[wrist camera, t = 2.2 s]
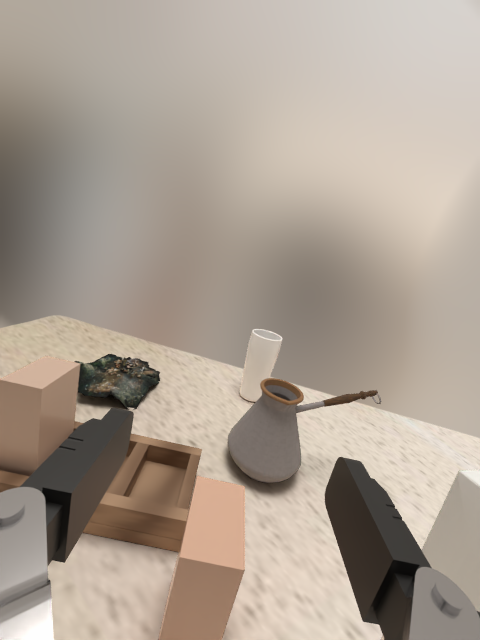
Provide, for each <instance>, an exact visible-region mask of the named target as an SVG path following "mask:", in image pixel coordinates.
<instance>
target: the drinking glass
mask: <svg viewBox="0 0 480 640" xmlns="http://www.w3.org/2000/svg"><path fill="white" fill-rule="evenodd" d="M281 343H282V337H281V336H279V335H278V334H276V333H274V332H271V331H267V330H263V329H254V330H253V331H252V334H251V337H250V341H249V344H248V348H247V353H246V359H245V365H244V371H243V377H242V382H241V386H240V391H239V393H240V395H241V396H242V397H243V398H244V399H246V400H248V401H251V402H256V401H257V400H258V399H259V398H260V397H261V396H262V390H261V387H260V383H261V382H262V381H263V380H264V379H267V378H270V375H271V372H272V370H273V367H274V365H275V362H276V360H277V357H278V354H279V351H280V347H281Z"/></svg>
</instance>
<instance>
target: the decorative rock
mask: <svg viewBox="0 0 480 640" xmlns="http://www.w3.org/2000/svg"><path fill="white" fill-rule="evenodd" d="M75 362H76V363H80V372H79V382H78V385H79V386H78V392H79V393H82V394H83V395H86V396H94V397H97V396H99V397H107V396H108V395H111V394H112V395H113V396H114V399H119V400H120V401H121V402H122V403H123V404H124V406H125V407H126V409H128V408H127V407H131V408H135V409H136V408H137V406H138V404H139V402H140V400H141V398H142V397H143V396H145V395H146V393H147V391H148V390H149V387H151V386H152V385H155V384H157V383H159V381H160V378H159V373H160V372H159V371H155V370H154V369H152V368H149V365H148V362H145V361H141V360H140V359H136V358H135V359H131V358H130V357H128V358H127V359H126V358H121V357H117V356H116V355H113V354H108V355H106V356H104V357H102V358H100V359H98V360H96V361H95V362H92V363H87V364H86V363H82V362H79V361H75Z"/></svg>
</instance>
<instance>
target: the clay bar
mask: <svg viewBox="0 0 480 640" xmlns="http://www.w3.org/2000/svg"><path fill="white" fill-rule="evenodd" d="M244 570H245V486H241V485H237V484H232V483H227V482H223V481H218V480H214V479H209V478H204V477H200V476H197V478H196V482H195V487H194V491H193V495H192V499H191V503H190V507H189V511H188V515H187V519H186V523H185V527H184V531H183V535H182V540H181V544H180V548H179V552H178V556H177V560H176V564H175V568H174V572H173V576H172V580H171V585H170V589H169V594H168V598H167V602H166V607H165V611H164V616H163V620H162V624H161V629H160V633H159V638H158V640H222V637H223V634H224V631H225V628H226V625H227V622H228V619H229V616H230V613H231V610H232V607H233V604H234V601H235V598H236V595H237V591H238V588H239V585H240V582H241V579H242V576H243V573H244Z"/></svg>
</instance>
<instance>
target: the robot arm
mask: <svg viewBox="0 0 480 640" xmlns="http://www.w3.org/2000/svg"><path fill="white" fill-rule="evenodd" d="M133 415H134V414H133V412H132V411H127V410H123V409H118V408H111V409H110V411H109V412H108V413H107V414H106V415H105V416H104V417H103V419H102V420H98V419H94V418H93V419H91V420H89V421H87V422H85V423H84V424H82V425H80V426H78V427H77V428H76V429H75V430H74V431H73V432H72V433H71V434H70V436H69V437H68V439H66V440H65V441H64V442H63V443H62V444H61V445H60V446H59V448H57V449H56V450H55V451H54V452H53V453H52V454H51V455H50V456H49V457H48V458H47V459H46V460H45V461H44V462H43V463H42V464H41V465H40V466H39V467H38V468H37V469H36V470H35V471H34V472H33V474H32V475H31V476H30V477H29V478H28V479H27V480H26V481H25V482H24V483H23V484H22V485H21V486H20V487H17V488H13V489H9V490H6V491H3V492H1V493H0V640H53V621H52V597H51V584H50V580H48V565H49V564H50V562H51V561H52V560H54V561H59V562H64V563H65V561H66V559H67V558H68V556H69V554H70V553H71V551H72V549H73V547H74V546H75V544H76V542H77V541H78V539H79V537H80V535H81V534H82V532H83V530H84V529H85V527H86V525H87V524H88V522H89V520H90V518H91V517H92V515H93V513H94V512H95V510H96V508H97V506H98V505H99V503H100V501H101V500H102V498H103V496H104V495H105V493H106V491H107V489H108V488H109V486H110V484H111V483H112V481H113V479H114V478H115V476H116V474H117V472H118V471H119V469H120V467H121V466H122V464H123V462H124V459H125V457H126V454H127V451H128V447H129V442H130V435H131V429H132V423H133ZM325 505H326V509H327V512H328V515H329V518H330V521H331V524H332V527H333V530H334V534H335V537H336V540H337V543H338V546H339V549H340V552H341V555H342V558H343V561H344V564H345V567H346V571H347V574H348V577H349V580H350V583H351V586H352V589H353V592H354V595H355V598H356V601H357V605H358V608H359V611H360V614H361V617H362V620H363V622H368V623H374V624H379V625H380V628H381V630H382V633H383V636H382V638H381V640H480V612H478V611H476V609H475V607H474V605H473V604H472V602H471V601H470V599H469V598H468V597H467V595H466V594H465V593H464V592H463V591H462V590H461V589H460V588H459V587H458V586H457V585H456V584H455V583H454V582H453V581H452V580H451V579H449V578H448V577H447V576H445V575H444V574H442V573H441V572H439V571H437V570H435V569H432V567H431V565H430V564H429V562H428V560H427V559H426V557H425V555H424V554H423V552H422V550H421V549H420V547H419V545H418V544H417V542H416V540H415V539H414V537H413V535H412V534H411V532H410V530H409V529H408V527H407V525H406V524H405V522H404V521H402V517H401V515H400V514H399V512H398V510H397V509H395V505H394V504H393V502H392V500H391V499H390V497H389V496H388V494H387V492H386V491H385V490H384V489H383V488H382V487H381V486H380V485H379V484H378V483H377V482H376V481H375V479H372V478H370V476H369V474H368V472H367V471H366V469H365V467H364V465H363V464H362V463H361V462H360V461H357V460H352V459H348V458H343V457H339V458H338V459H337V461H336V464H335V466H334V469H333V471H332V474H331V477H330V479H329V482H328V485H327V487H326V491H325Z"/></svg>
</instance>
